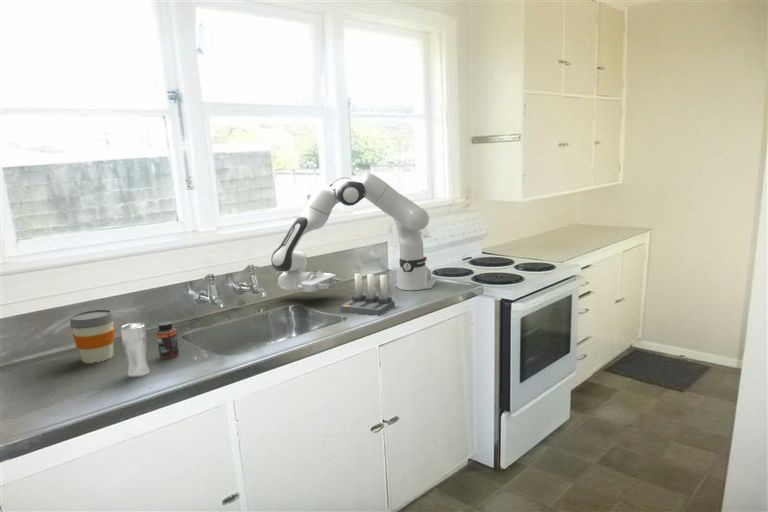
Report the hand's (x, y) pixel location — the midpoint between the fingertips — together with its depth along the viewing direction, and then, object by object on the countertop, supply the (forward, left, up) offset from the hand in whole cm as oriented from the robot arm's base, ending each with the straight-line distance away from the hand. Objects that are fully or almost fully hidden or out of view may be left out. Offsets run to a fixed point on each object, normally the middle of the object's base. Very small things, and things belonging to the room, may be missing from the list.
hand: (334, 283), depth 225 cm
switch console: (+4, +18, -9) cm, 20 cm away
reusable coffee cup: (+83, -41, -9) cm, 93 cm away
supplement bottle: (+73, -19, -9) cm, 76 cm away
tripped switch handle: (0, +12, -6) cm, 13 cm away
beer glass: (+87, -16, -9) cm, 89 cm away
